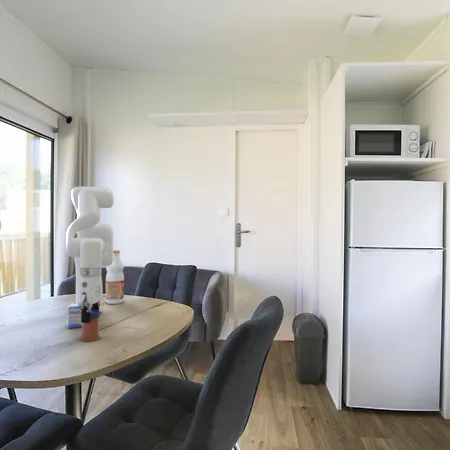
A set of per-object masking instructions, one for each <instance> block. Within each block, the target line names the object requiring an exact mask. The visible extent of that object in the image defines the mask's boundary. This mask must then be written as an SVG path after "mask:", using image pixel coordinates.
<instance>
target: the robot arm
mask: <svg viewBox="0 0 450 450" xmlns="http://www.w3.org/2000/svg"><path fill="white" fill-rule="evenodd" d="M70 192H71V193H70V194H71V201H72V203H73V204H72V205H73V206H74V209H75V211H76V215H77V218H76V219H74V220H73V221H72V223H71V224H70V225H69V226H68V228H67V231H66V236H65V239H66V240H65V241H66V242H65V250H66V253H67V255H68V256H69V257H71V258H73V260H74V266H75V303H70V305H79V306H80V309H81V322H82V323H90V312H89V310H90V309H98V310H100V313H101V309H100V306H101V303H100V302H101V301H102V300H103V299H104V291H103V290H104V288H103V278H102V267H106V266H110V265H111V264H112V262H113V250H114V232H113V227H112V226H111V224H108V223H99V222H100V220H101V211H100V210H101V209H111V208H113V206H114V201H115V197H114V193H113V190H112V189H111V188H110V187H107V186H106V187H104V186H84V185H83V186H75V187H73V188H72V189H71V191H70ZM76 234H77V235H76ZM75 236H77V237H75ZM85 305H88V306H87V307H86V306H85Z"/></svg>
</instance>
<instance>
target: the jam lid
mask: <svg viewBox="0 0 450 450" xmlns="http://www.w3.org/2000/svg"><path fill="white" fill-rule="evenodd" d="M100 310H101V309H100ZM100 310H98V309H90V310H89V312H90V318H96V317H99V318H100V316H101V312H100Z"/></svg>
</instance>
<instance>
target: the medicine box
mask: <svg viewBox="0 0 450 450" xmlns="http://www.w3.org/2000/svg"><path fill="white" fill-rule="evenodd" d="M85 306H86V307H87V306H88V305H85ZM66 326H67V328H68V329H74V328H82V322H81V309H80V306H79V305H71V304H70V305H67V306H66Z"/></svg>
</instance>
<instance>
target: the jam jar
mask: <svg viewBox="0 0 450 450" xmlns="http://www.w3.org/2000/svg"><path fill="white" fill-rule="evenodd" d="M99 338H100V316H99V317H96V318H90V323H82V327H81V341H83V342H94V341H97V340H99Z"/></svg>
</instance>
